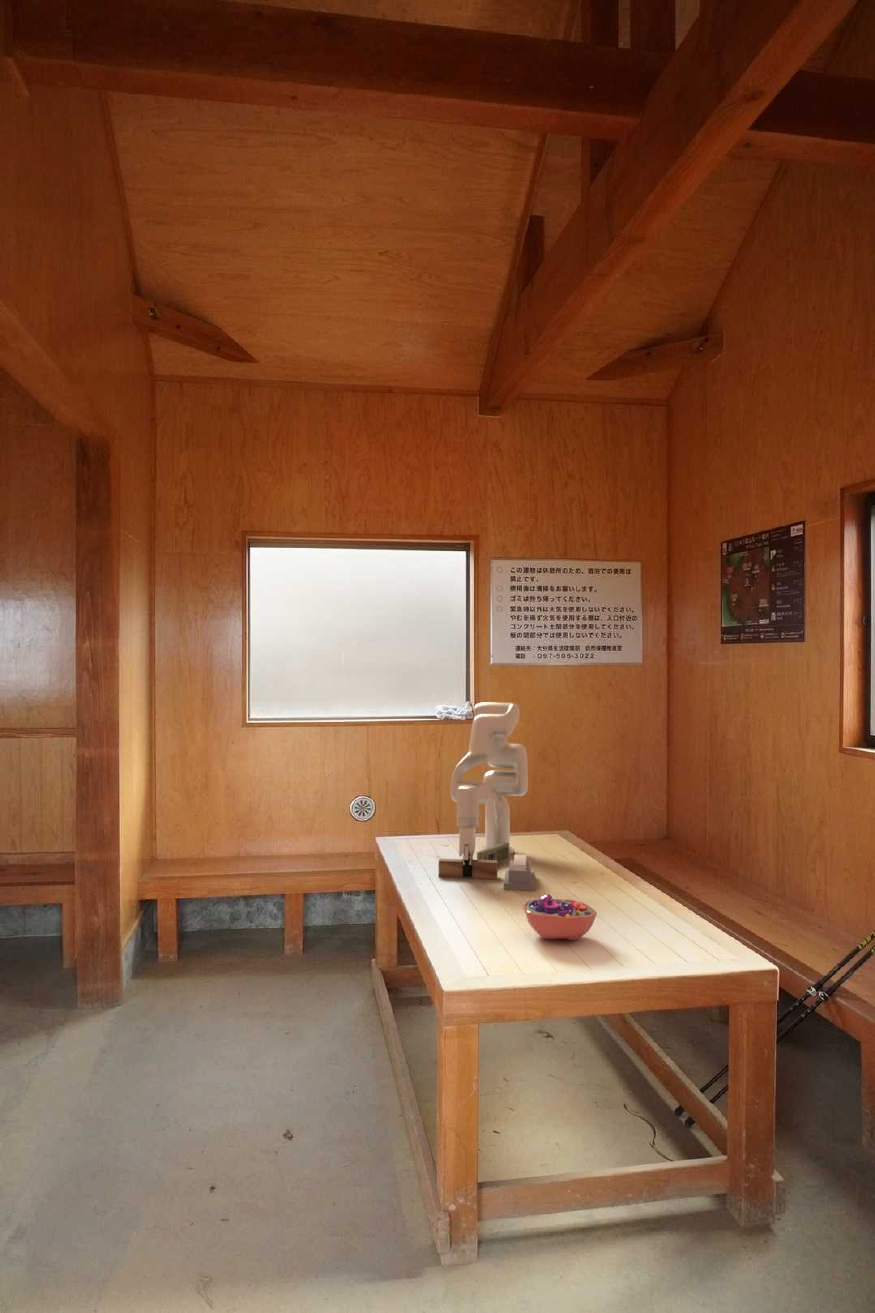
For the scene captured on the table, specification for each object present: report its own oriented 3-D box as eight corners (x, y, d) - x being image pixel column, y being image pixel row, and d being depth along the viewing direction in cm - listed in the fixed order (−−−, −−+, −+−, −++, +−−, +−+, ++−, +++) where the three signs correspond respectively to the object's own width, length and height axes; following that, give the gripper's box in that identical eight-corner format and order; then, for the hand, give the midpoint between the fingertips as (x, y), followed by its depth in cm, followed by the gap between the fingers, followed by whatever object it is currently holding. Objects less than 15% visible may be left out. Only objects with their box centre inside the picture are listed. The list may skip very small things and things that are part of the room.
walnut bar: (439, 874, 287) (439, 858, 287) (497, 876, 285) (497, 860, 285) (438, 877, 284) (438, 861, 284) (496, 879, 281) (496, 862, 281)
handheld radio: (511, 860, 309) (475, 874, 288) (503, 859, 311) (467, 873, 290) (510, 842, 309) (474, 855, 288) (502, 841, 311) (466, 854, 290)
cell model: (584, 955, 210) (584, 910, 210) (512, 941, 219) (512, 898, 219) (605, 935, 224) (605, 893, 224) (536, 923, 234) (536, 883, 234)
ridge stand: (506, 876, 284) (506, 853, 284) (535, 877, 283) (535, 854, 283) (503, 889, 269) (503, 865, 269) (534, 890, 267) (534, 866, 267)
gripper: (459, 816, 293) (459, 868, 293) (454, 826, 277) (454, 881, 277) (480, 817, 292) (480, 869, 292) (476, 827, 276) (476, 882, 276)
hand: (468, 874), depth 284 cm, fingers closed on walnut bar, 3 cm apart
